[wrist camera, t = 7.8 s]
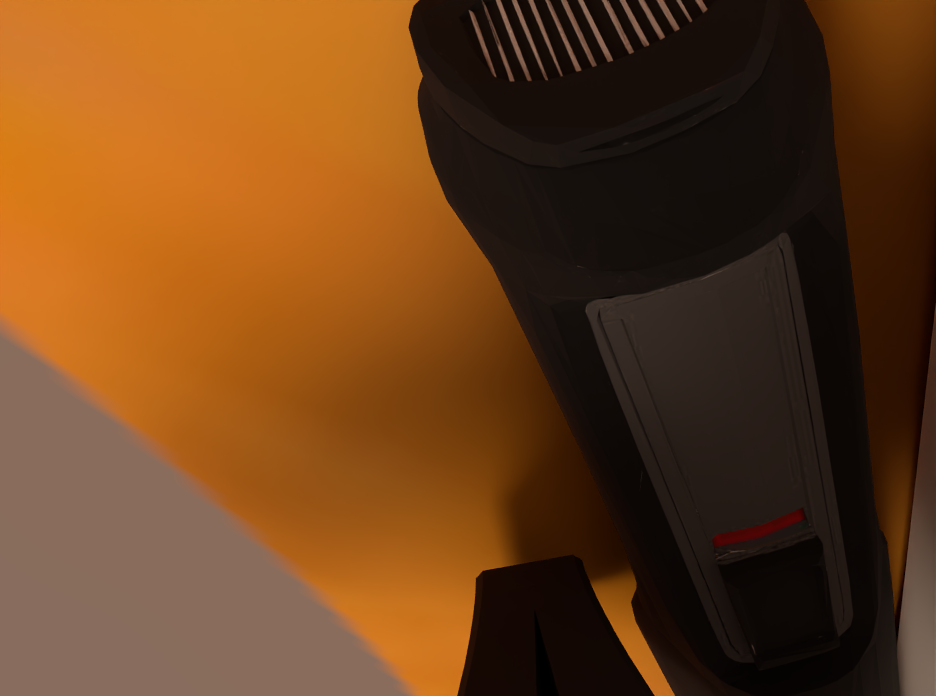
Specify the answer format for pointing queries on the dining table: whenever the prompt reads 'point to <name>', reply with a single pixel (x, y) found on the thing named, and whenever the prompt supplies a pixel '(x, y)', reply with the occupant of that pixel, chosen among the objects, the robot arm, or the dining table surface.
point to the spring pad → (921, 561)
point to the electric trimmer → (684, 310)
